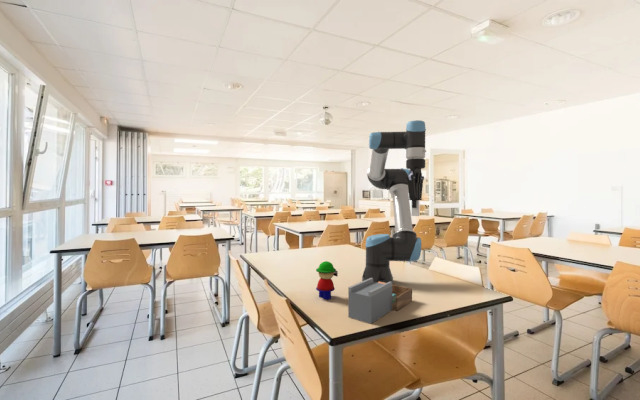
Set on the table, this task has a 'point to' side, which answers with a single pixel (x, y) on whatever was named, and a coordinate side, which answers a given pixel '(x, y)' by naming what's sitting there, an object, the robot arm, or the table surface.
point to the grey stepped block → (369, 300)
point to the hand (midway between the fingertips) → (415, 215)
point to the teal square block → (393, 298)
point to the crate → (401, 297)
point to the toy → (326, 279)
